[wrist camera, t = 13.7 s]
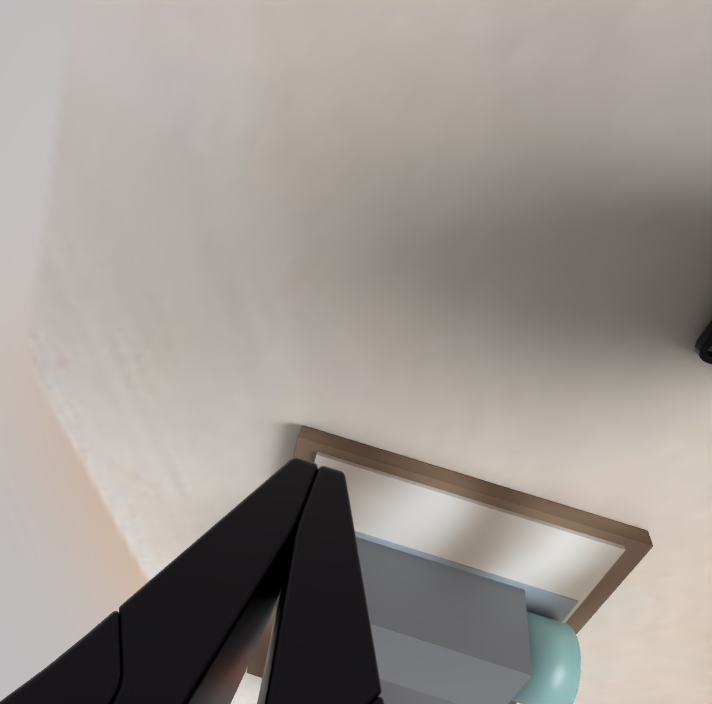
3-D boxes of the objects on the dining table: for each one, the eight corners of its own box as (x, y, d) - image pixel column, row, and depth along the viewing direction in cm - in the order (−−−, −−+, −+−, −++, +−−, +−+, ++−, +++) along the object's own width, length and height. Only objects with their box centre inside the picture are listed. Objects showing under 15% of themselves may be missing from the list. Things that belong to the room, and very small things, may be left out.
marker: (573, 604, 25) (588, 693, 22) (539, 646, 27) (548, 733, 24) (317, 524, 26) (293, 599, 22) (304, 572, 28) (280, 646, 24)
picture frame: (648, 531, 23) (654, 551, 22) (477, 734, 35) (477, 752, 34) (302, 425, 24) (296, 440, 23) (250, 660, 36) (245, 676, 35)
